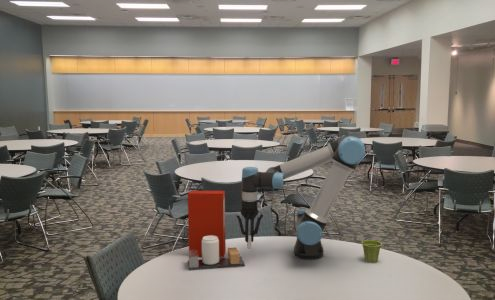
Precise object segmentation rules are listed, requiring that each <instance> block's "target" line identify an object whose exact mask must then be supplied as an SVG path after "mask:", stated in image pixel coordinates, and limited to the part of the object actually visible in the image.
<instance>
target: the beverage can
mask: <svg viewBox="0 0 495 300" xmlns="http://www.w3.org/2000/svg"><path fill="white" fill-rule="evenodd" d="M219 258H220V257H219V239H218V237H217V236H212V235H210V236H204V237H203V239H202V257H201V259H202V262H203V263H204V264H207V265H213V264H216V263H218V262H219Z"/></svg>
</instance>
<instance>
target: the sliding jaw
mask: <svg viewBox="0 0 495 300" xmlns="http://www.w3.org/2000/svg"><path fill="white" fill-rule="evenodd" d="M239 257H240V252H239V250H238V248H237V247H233V246H232V247H228V248H227V258H229V260H230V263H231V264H239Z"/></svg>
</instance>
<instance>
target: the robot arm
mask: <svg viewBox="0 0 495 300" xmlns="http://www.w3.org/2000/svg"><path fill="white" fill-rule="evenodd" d="M365 156H366V147H365V143H364V142H363V141H362V140H361V138H358V137H357V136H355V135H352V134H346V135H343V136H342V137H339V138H337V139H335V140H334V141H331V142H328V144H327V145H326V146H323V147H321V148H319V149H316V150H314V151H311V152H309V153H308V152H307V154H303V155H301V156H299V157H296V158H294V159H291V160H288V161H285V162H283V163H281V164H278V165H276V166H271V167H268V168H267V170H266V171H259V168H258V167H257V166H256V167H255V166H245V167H243V168H242V170H241V209H240V212H239V213H237V214H235V216H236V218H237V220H238V225H239V227H240V228H239V229H240V233H241V234H242V236H243V235H244V241H245V243H247V244H246V246H247V247H246V248H247V249H248V250H252V243H253V242H254V239H255V238H254V236H255V235H258V231H259V230H260V229H259V228H260V224H261V220H262V219H263V217H264V215H263V213H260V211H259V209H258V203H259V202H258V199H259V198H258V196H259V195H258V194H259V193H258V191H259V190H258V189H275V190H277V189H283V187H284V180H286V179H289V178H291V177H293V176H296V175H299V174H301V173H304V172H307V171H310V170H312V169H315V168H317V167H319V166H322V165H326V164H327V163H331V162H332V165H331V166H330V168H329V170H328V173H327V175H326V177H325V178H324V180H323V182H322V185H321V186H320V188H319V190H318V192H317V194H316V195H315V198H314V200H313V202H312V203H311V206H310V207H309V208H299V209H297V211H296V231H295V232H296V240H295V241H296V242H295V244H294V247H293V252H292V254H293V256H294V257H296V258H298V259H302V260H318V259H322V258H323V257H324V255H325V253H324V252H325V250H324V247H323V243H322V241H321V240H322V238H323V236H324V235H323V234H324V233H323V232H324V230H325V228H326V227H327V224H328V218H327V217H328V215H329V213H330V212H331V209H332V208H333V205H334V204H335V202H336V200H337V198H338V197H339V194H340V192H341V190H342V188H343V186H344V185H345V183H346V181H347V179H348V178H349V176H350V173H351V172H354V171H356V168H357V167H358V165H359V164H360V162H361V161H363V159H364V157H365ZM242 217H243V218H244V225H243V220H242ZM256 217H257V218H256ZM255 218H256V221H255ZM249 222H250V224H249ZM255 222H256V223H255ZM249 225H250V230H249ZM249 232H250V233H249Z"/></svg>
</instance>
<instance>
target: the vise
mask: <svg viewBox="0 0 495 300" xmlns="http://www.w3.org/2000/svg"><path fill="white" fill-rule="evenodd" d="M245 264H246V263H245V262H244V260H243V257H242V256H239V264H231V263H230V260H229V258H228V257H219V262H218V263H216V264H213V265H207V264H204V263H203V262H202V258H201V259H199V257H198V252H197V250H189V249H188V260H187V265H188V266H187V267H188V271H197V270H198V271H199V270H213V269H226V268H243V267H246V265H245Z"/></svg>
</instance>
